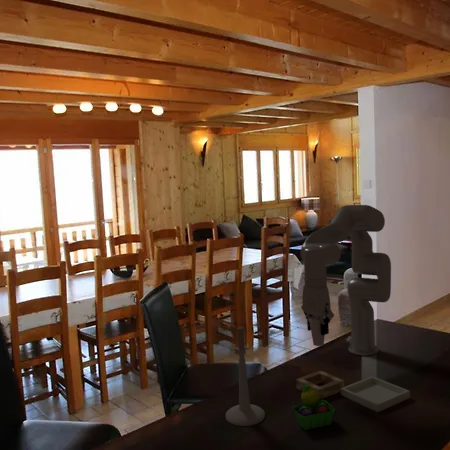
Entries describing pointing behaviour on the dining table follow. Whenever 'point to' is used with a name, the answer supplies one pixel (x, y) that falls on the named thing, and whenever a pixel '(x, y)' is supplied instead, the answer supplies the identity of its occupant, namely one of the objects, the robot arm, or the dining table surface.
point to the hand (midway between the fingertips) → (318, 331)
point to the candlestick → (244, 393)
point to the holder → (318, 377)
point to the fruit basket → (313, 410)
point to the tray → (375, 393)
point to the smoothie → (316, 330)
